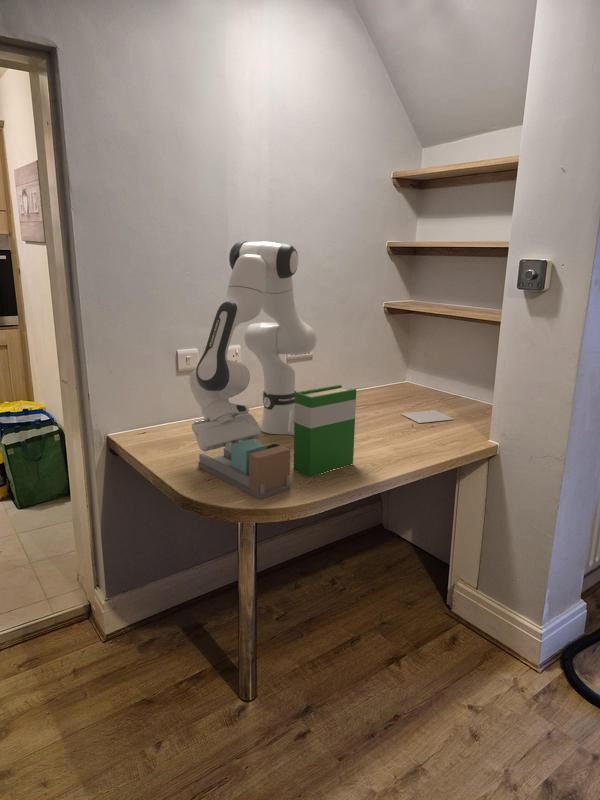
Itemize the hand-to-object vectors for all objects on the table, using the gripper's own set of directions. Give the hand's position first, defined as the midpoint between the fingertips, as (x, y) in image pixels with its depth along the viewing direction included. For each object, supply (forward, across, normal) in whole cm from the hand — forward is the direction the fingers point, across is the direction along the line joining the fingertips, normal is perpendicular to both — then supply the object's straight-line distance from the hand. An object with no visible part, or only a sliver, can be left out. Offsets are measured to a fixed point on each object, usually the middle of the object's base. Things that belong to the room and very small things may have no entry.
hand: (239, 456), depth 165 cm
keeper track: (+5, 0, +4) cm, 6 cm away
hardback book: (+12, +24, -3) cm, 27 cm away
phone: (-2, +18, +12) cm, 22 cm away
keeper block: (+6, 0, 0) cm, 6 cm away
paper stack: (+5, +89, +5) cm, 89 cm away
